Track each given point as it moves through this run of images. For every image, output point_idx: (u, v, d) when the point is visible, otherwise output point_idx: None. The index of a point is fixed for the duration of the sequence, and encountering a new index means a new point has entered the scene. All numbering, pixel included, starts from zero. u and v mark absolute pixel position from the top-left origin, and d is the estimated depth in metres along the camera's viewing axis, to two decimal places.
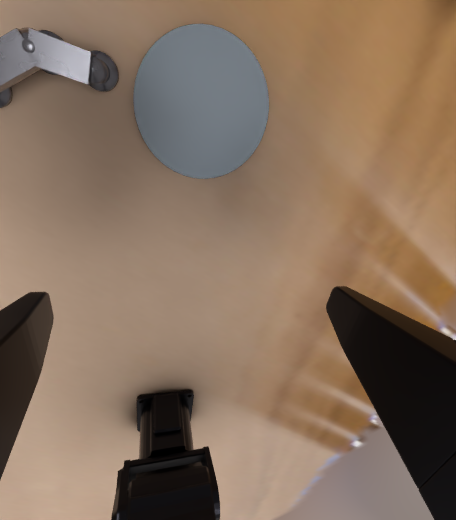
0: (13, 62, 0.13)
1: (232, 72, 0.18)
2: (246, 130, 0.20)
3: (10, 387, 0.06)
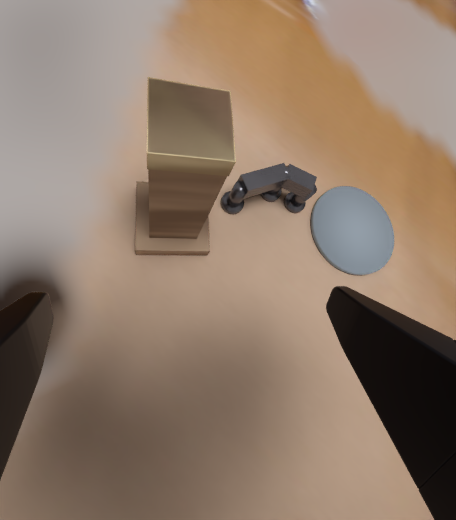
0: (278, 176, 0.23)
1: (369, 210, 0.29)
2: (382, 243, 0.28)
3: (10, 387, 0.06)
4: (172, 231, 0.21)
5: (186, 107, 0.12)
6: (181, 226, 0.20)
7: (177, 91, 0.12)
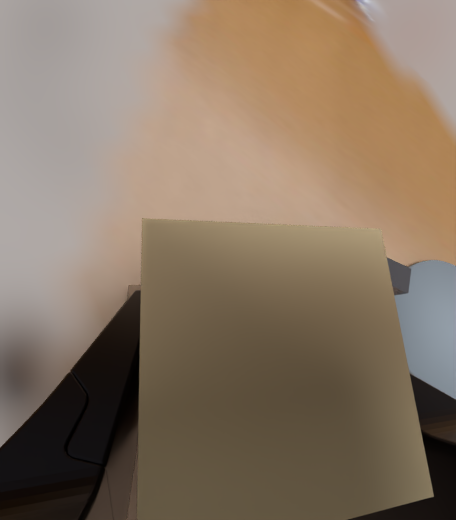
0: None
1: None
2: None
3: None
4: None
5: (269, 312, 0.04)
6: None
7: (239, 257, 0.04)
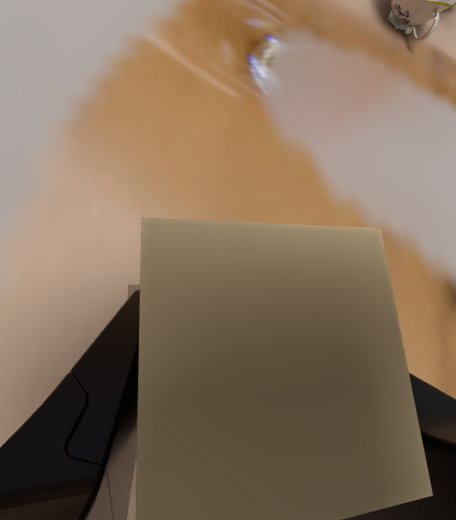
0: None
1: None
2: None
3: None
4: None
5: (268, 312, 0.04)
6: None
7: (239, 257, 0.04)
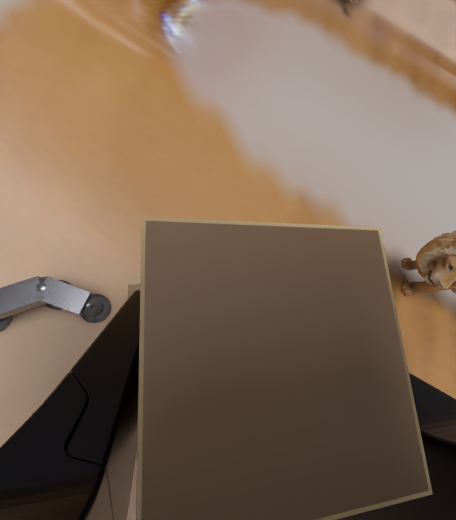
0: (22, 297, 0.16)
1: None
2: None
3: None
4: None
5: (268, 310, 0.04)
6: None
7: (239, 255, 0.04)
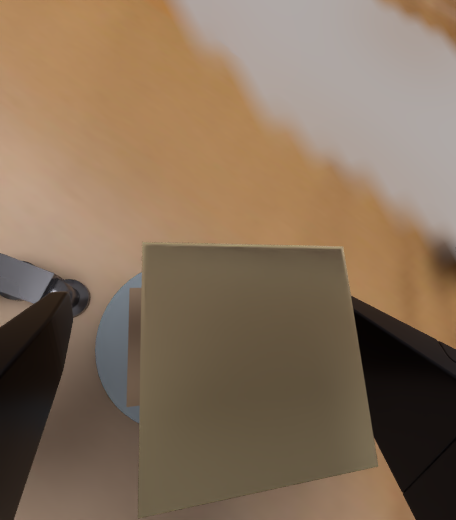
0: None
1: None
2: None
3: (38, 385, 0.06)
4: None
5: (245, 317, 0.05)
6: None
7: (222, 272, 0.05)
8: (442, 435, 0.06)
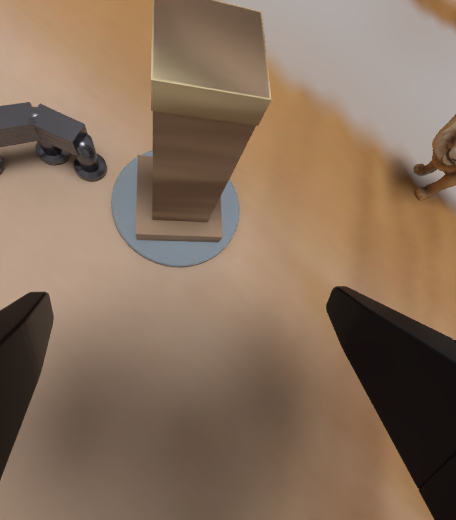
0: (14, 119, 0.16)
1: None
2: None
3: (10, 387, 0.06)
4: (179, 212, 0.17)
5: (204, 26, 0.09)
6: (191, 204, 0.16)
7: (193, 5, 0.09)
8: None
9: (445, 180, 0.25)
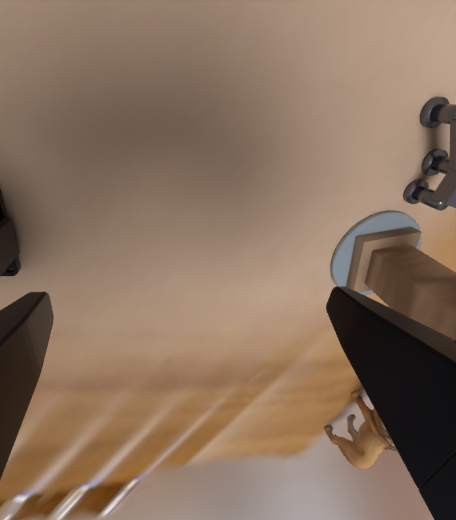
0: None
1: None
2: None
3: (10, 387, 0.06)
4: (379, 274, 0.24)
5: None
6: (387, 287, 0.24)
7: None
8: None
9: (367, 410, 0.38)
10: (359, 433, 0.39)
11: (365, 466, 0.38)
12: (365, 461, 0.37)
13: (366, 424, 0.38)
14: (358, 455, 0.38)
